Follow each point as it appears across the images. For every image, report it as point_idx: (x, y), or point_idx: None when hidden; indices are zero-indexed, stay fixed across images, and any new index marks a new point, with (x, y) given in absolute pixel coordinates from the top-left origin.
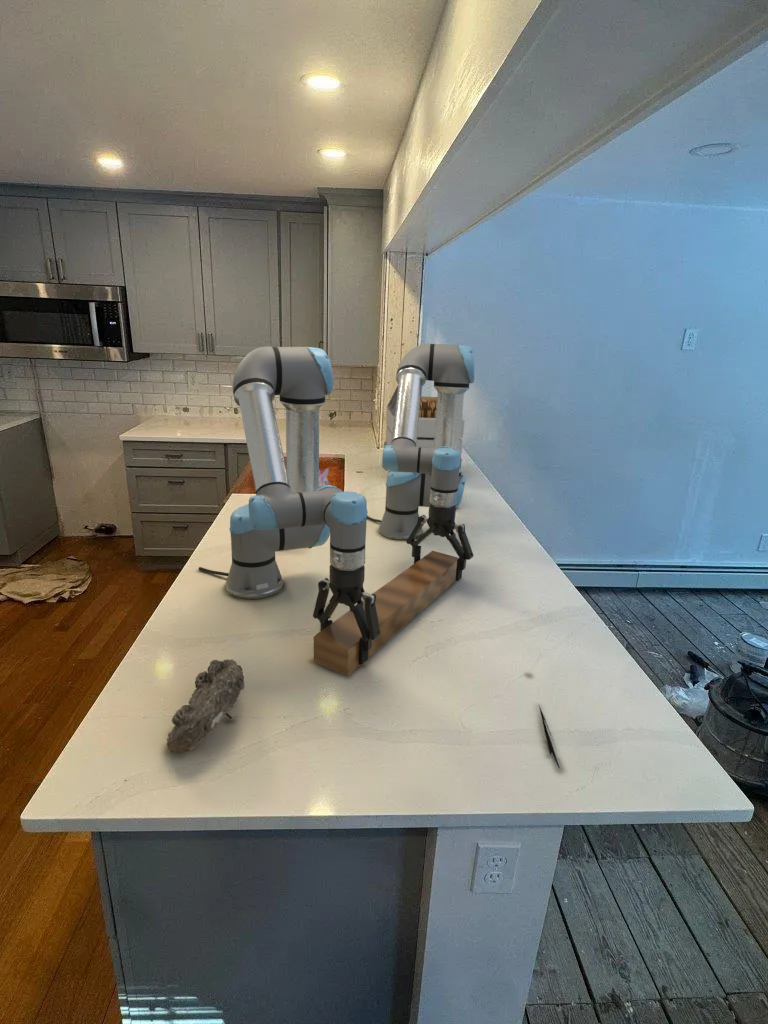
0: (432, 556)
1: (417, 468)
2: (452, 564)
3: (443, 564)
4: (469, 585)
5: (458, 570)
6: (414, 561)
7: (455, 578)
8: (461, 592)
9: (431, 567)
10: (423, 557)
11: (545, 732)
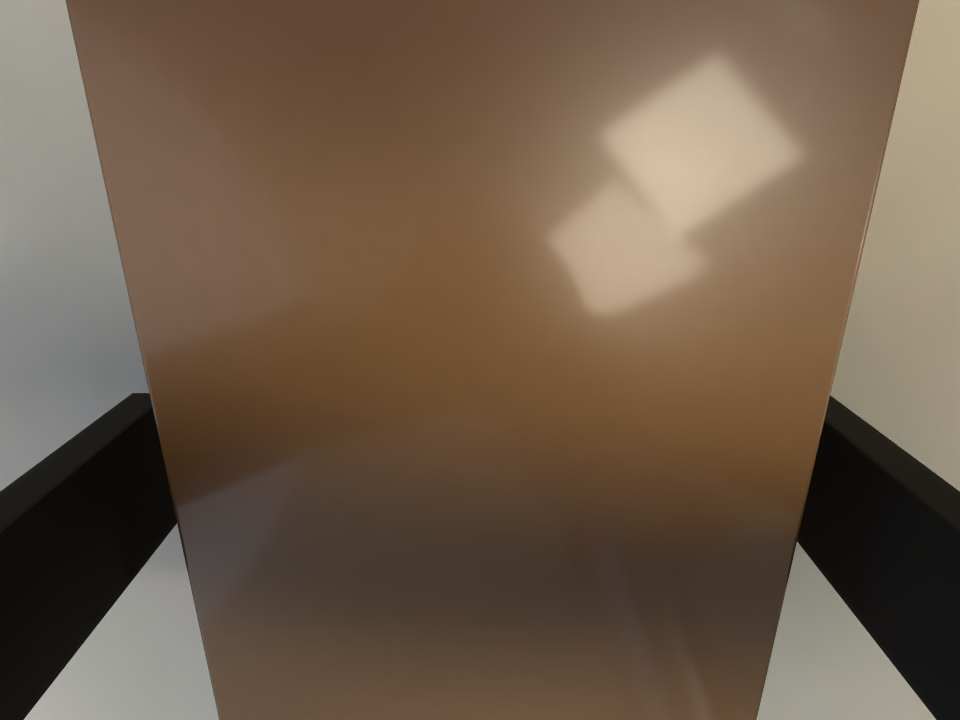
0: (648, 671)
1: None
2: (196, 596)
3: (320, 510)
4: None
5: (17, 485)
6: (890, 449)
7: (152, 408)
8: (124, 328)
9: (445, 245)
10: (785, 560)
11: None
